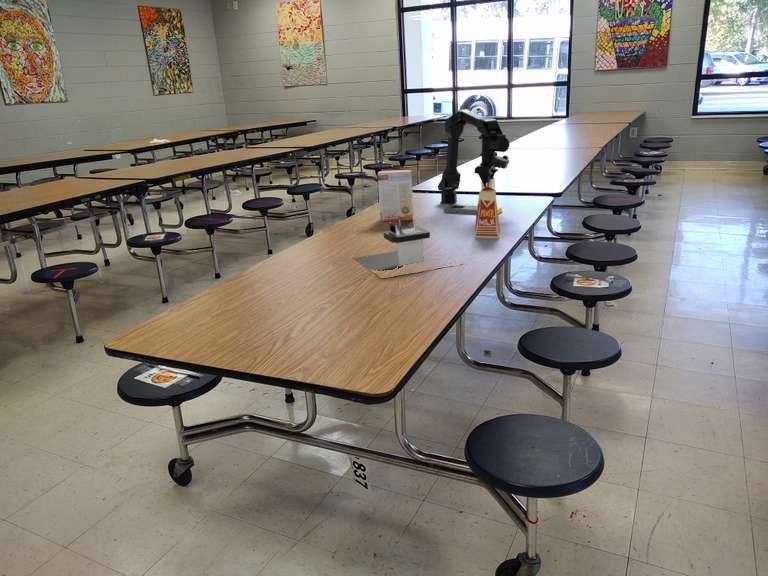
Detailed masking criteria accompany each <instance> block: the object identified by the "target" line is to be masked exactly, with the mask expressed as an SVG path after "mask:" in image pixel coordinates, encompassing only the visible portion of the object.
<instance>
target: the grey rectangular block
mask: <svg viewBox="0 0 768 576" xmlns="http://www.w3.org/2000/svg"><path fill="white" fill-rule="evenodd" d="M480 181H481V180H480ZM480 185H481V186H480V187H481V190H482V189H484V188H485V187H484V185H483V183H482V181H481V184H480ZM488 187H490V188H492V189H494V190H496V189H495V187H496V178H495V177H494V178H489V184H488ZM481 190H480V191H481Z"/></svg>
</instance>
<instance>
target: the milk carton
mask: <svg viewBox="0 0 768 576" xmlns="http://www.w3.org/2000/svg"><path fill="white" fill-rule="evenodd" d="M496 194H497V191H496V189H495V190H494V189H492V188H490V187H488V183H486V187H485V188H484V189H482V190H480V191H479V195H478V199H477V205H476V206H477V214H475V215H476V216H475V228H474V236H473V237H474V239H500V237H501V230H500V229H501V228H500V221H499V214H498V210H497V207H498V203H497V195H496Z"/></svg>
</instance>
